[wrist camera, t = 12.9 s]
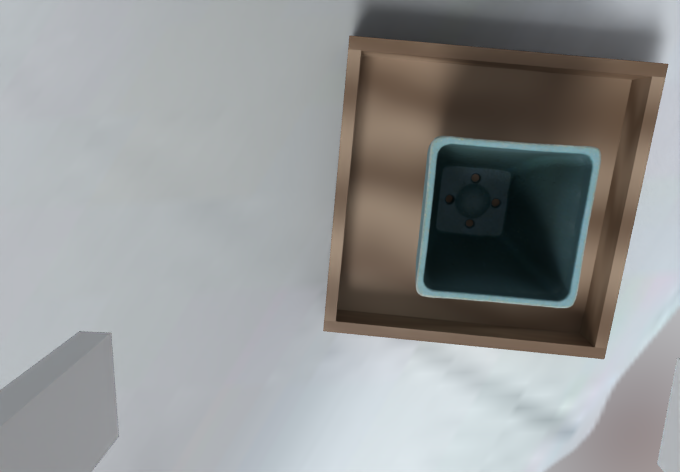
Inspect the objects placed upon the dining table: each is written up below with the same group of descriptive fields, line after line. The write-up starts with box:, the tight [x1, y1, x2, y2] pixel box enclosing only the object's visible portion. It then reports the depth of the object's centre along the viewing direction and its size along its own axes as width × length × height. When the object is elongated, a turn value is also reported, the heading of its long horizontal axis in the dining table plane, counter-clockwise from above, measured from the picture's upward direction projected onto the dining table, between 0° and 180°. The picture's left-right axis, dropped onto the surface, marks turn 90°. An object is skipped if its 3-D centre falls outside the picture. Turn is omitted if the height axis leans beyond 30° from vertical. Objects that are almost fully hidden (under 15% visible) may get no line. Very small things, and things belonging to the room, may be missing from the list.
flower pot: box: [416, 136, 601, 308], centre depth 31 cm, size 9×9×9 cm
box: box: [323, 36, 668, 359], centre depth 35 cm, size 20×20×3 cm
